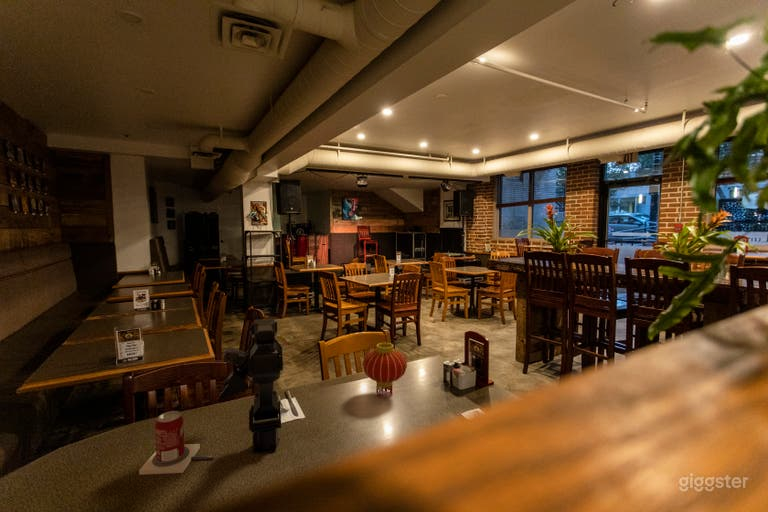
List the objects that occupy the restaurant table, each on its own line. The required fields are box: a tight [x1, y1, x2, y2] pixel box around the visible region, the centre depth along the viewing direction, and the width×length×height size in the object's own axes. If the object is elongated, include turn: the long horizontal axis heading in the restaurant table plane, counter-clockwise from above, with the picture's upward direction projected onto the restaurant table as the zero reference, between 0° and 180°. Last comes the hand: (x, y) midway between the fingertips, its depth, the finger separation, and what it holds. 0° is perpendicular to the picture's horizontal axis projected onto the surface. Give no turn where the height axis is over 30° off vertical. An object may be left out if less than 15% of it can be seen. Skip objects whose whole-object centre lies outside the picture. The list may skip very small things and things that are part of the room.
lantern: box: [362, 320, 408, 398], centre depth 141 cm, size 17×17×30 cm
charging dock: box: [138, 443, 215, 476], centre depth 102 cm, size 17×11×2 cm, turn 95°
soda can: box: [154, 410, 185, 463], centre depth 101 cm, size 7×7×12 cm
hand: (221, 392), depth 114 cm, fingers open, 9 cm apart
